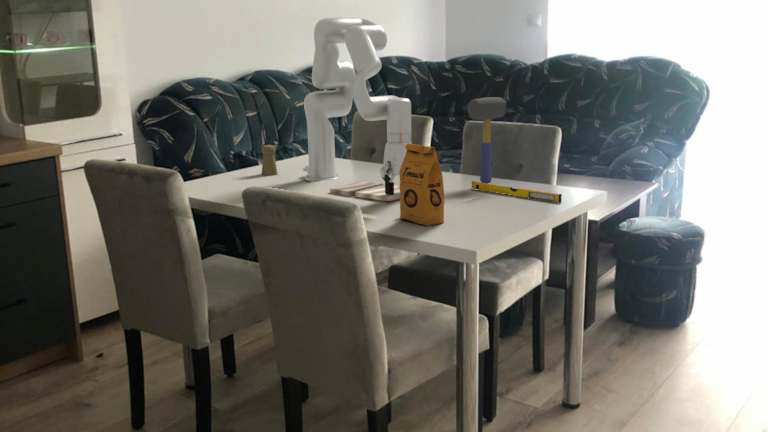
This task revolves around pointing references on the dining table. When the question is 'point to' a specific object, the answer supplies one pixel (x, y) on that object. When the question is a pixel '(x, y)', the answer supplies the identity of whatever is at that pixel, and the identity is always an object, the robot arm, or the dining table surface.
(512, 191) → the spirit level
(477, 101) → the rubber mallet
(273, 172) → the cork
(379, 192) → the ash plank
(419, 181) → the coffee package
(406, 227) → the dining table surface
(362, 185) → the floor board
